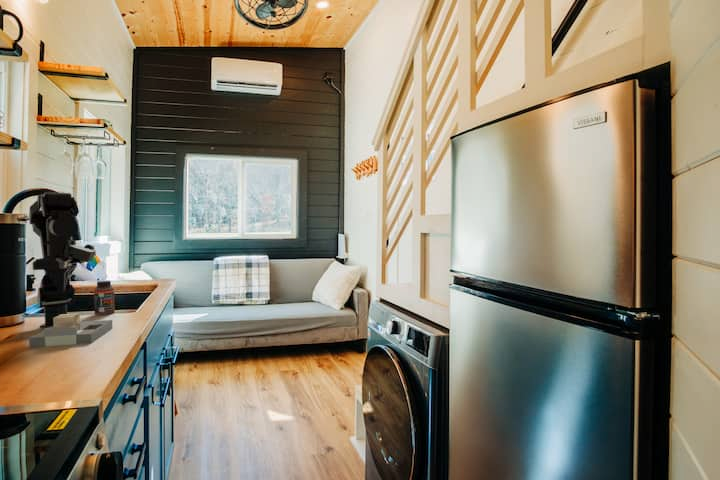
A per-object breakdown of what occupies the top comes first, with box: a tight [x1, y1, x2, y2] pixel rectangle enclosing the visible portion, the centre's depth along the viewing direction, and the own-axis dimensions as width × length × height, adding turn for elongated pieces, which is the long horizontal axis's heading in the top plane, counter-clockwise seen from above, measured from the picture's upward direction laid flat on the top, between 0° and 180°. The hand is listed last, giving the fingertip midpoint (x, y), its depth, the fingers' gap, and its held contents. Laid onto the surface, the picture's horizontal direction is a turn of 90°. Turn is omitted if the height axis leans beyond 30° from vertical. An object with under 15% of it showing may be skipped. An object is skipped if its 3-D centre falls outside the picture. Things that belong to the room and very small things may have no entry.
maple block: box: [53, 312, 81, 331], centre depth 112 cm, size 4×4×4 cm
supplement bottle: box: [93, 280, 116, 316], centre depth 147 cm, size 6×6×11 cm
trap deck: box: [28, 319, 113, 349], centre depth 116 cm, size 16×14×4 cm
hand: (61, 291), depth 122 cm, fingers closed
